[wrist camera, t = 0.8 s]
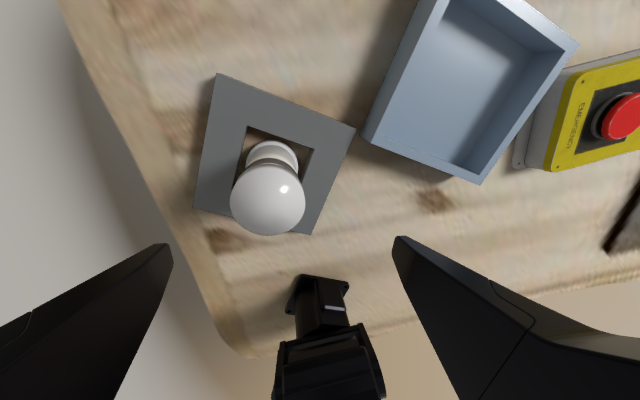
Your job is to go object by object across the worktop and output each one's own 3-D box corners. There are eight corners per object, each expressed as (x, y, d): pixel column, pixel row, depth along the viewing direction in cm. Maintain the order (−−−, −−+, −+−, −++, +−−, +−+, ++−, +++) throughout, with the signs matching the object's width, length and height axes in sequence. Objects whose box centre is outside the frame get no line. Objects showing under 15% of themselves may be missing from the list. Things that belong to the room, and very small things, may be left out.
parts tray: (458, 174, 24) (480, 185, 22) (359, 135, 21) (370, 143, 18) (540, 49, 20) (580, 44, 17) (431, -28, 16) (460, -49, 14)
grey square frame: (308, 227, 24) (310, 235, 23) (197, 199, 21) (192, 207, 20) (351, 126, 20) (356, 129, 19) (221, 73, 17) (216, 72, 16)
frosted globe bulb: (288, 191, 22) (292, 241, 15) (242, 178, 21) (222, 226, 14) (303, 148, 21) (315, 183, 14) (254, 131, 19) (239, 159, 12)
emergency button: (576, 76, 17) (756, 29, 18) (522, 77, 21) (671, 39, 22) (545, 185, 22) (690, 145, 22) (505, 169, 26) (629, 136, 26)
